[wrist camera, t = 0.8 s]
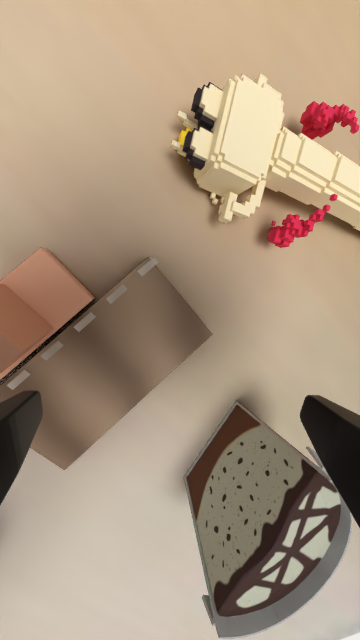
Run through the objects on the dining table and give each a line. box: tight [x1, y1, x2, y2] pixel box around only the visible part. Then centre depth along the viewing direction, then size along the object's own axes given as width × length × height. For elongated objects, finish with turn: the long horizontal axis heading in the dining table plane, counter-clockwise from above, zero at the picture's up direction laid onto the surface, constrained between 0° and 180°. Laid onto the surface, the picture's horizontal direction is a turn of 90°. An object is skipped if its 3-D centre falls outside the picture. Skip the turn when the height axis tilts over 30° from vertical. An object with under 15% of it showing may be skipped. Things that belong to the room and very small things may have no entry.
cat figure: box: [170, 73, 360, 248], centre depth 16 cm, size 10×9×25 cm
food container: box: [184, 401, 352, 639], centre depth 18 cm, size 12×6×10 cm, turn 144°
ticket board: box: [0, 257, 212, 470], centre depth 17 cm, size 17×8×2 cm, turn 130°
